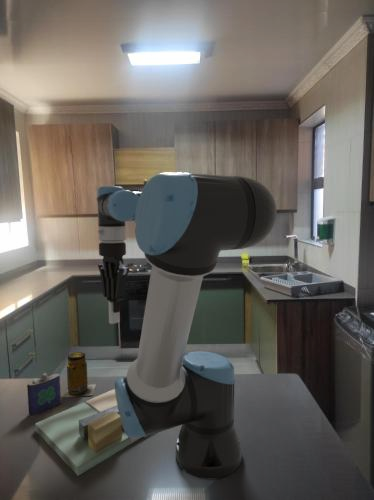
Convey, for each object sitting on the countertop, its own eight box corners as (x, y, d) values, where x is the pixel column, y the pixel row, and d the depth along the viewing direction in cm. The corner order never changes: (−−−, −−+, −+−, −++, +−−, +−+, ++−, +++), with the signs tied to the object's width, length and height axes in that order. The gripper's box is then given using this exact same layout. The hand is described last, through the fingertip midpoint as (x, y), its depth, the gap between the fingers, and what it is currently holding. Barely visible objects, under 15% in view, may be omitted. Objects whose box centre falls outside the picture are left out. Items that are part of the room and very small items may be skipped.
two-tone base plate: (162, 424, 87) (161, 397, 86) (77, 476, 70) (76, 442, 69) (114, 394, 102) (113, 371, 102) (35, 430, 85) (34, 403, 84)
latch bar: (132, 410, 90) (132, 396, 89) (140, 417, 86) (139, 402, 86) (78, 433, 80) (77, 417, 80) (84, 441, 77) (84, 425, 77)
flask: (58, 400, 99) (57, 366, 98) (63, 404, 97) (62, 369, 96) (27, 414, 92) (25, 377, 91) (31, 418, 90) (29, 381, 89)
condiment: (69, 386, 108) (68, 350, 107) (96, 384, 109) (95, 349, 108) (63, 398, 101) (62, 360, 100) (92, 396, 102) (90, 358, 101)
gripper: (89, 241, 96) (91, 320, 98) (113, 243, 86) (115, 330, 89) (111, 240, 101) (113, 315, 103) (136, 242, 92) (138, 324, 94)
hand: (114, 322), depth 96 cm, fingers closed
